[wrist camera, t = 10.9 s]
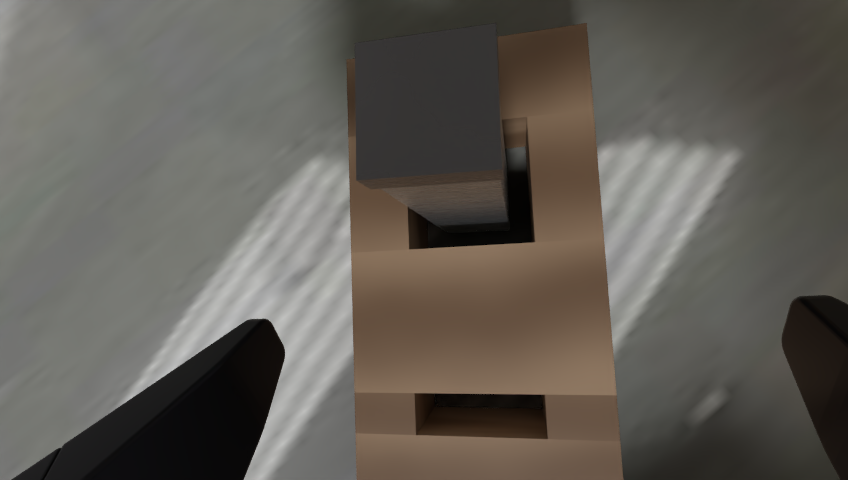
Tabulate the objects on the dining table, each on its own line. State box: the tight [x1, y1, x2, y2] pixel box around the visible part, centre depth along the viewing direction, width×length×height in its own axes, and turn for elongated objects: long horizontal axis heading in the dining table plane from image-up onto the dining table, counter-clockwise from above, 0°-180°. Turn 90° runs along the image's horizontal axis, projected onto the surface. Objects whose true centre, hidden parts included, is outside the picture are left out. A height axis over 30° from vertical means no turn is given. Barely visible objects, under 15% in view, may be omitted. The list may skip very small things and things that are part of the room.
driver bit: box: [355, 23, 510, 233], centre depth 16 cm, size 3×3×12 cm
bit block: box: [347, 23, 623, 480], centre depth 19 cm, size 20×10×4 cm, turn 3°
